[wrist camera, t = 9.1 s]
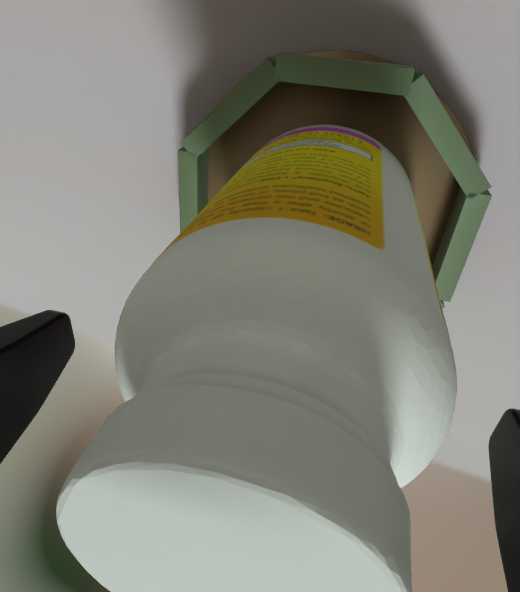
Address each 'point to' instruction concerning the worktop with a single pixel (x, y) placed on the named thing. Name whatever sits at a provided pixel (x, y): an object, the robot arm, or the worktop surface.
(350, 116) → the coaster ring
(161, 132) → the worktop surface
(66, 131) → the worktop surface
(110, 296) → the worktop surface
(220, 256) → the supplement bottle
